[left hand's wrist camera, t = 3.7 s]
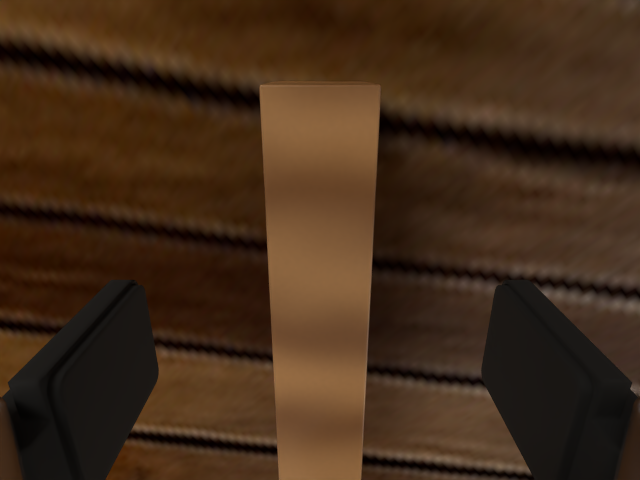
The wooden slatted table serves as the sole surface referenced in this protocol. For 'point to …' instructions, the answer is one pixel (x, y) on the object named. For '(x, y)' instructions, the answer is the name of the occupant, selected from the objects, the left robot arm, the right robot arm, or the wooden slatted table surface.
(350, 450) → the bar
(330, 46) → the wooden slatted table surface
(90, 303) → the left robot arm
